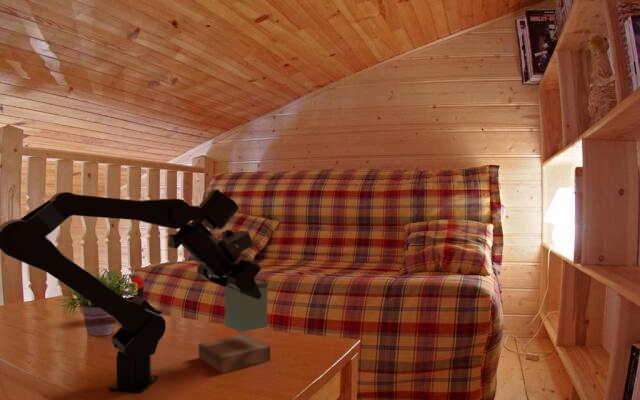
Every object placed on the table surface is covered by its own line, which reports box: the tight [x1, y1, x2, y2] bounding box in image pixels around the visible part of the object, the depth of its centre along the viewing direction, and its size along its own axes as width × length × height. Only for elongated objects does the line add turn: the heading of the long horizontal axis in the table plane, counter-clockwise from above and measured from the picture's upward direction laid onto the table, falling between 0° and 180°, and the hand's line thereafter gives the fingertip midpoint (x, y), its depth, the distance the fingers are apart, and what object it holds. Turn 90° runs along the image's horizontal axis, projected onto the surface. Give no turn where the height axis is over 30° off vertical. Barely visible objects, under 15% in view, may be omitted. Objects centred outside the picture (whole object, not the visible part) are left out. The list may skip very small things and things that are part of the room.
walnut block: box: [198, 333, 271, 374], centre depth 97 cm, size 11×11×3 cm
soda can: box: [125, 273, 145, 301], centre depth 130 cm, size 8×8×12 cm
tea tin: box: [224, 278, 268, 333], centre depth 99 cm, size 7×7×10 cm
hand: (251, 294), depth 100 cm, fingers closed on tea tin, 7 cm apart
